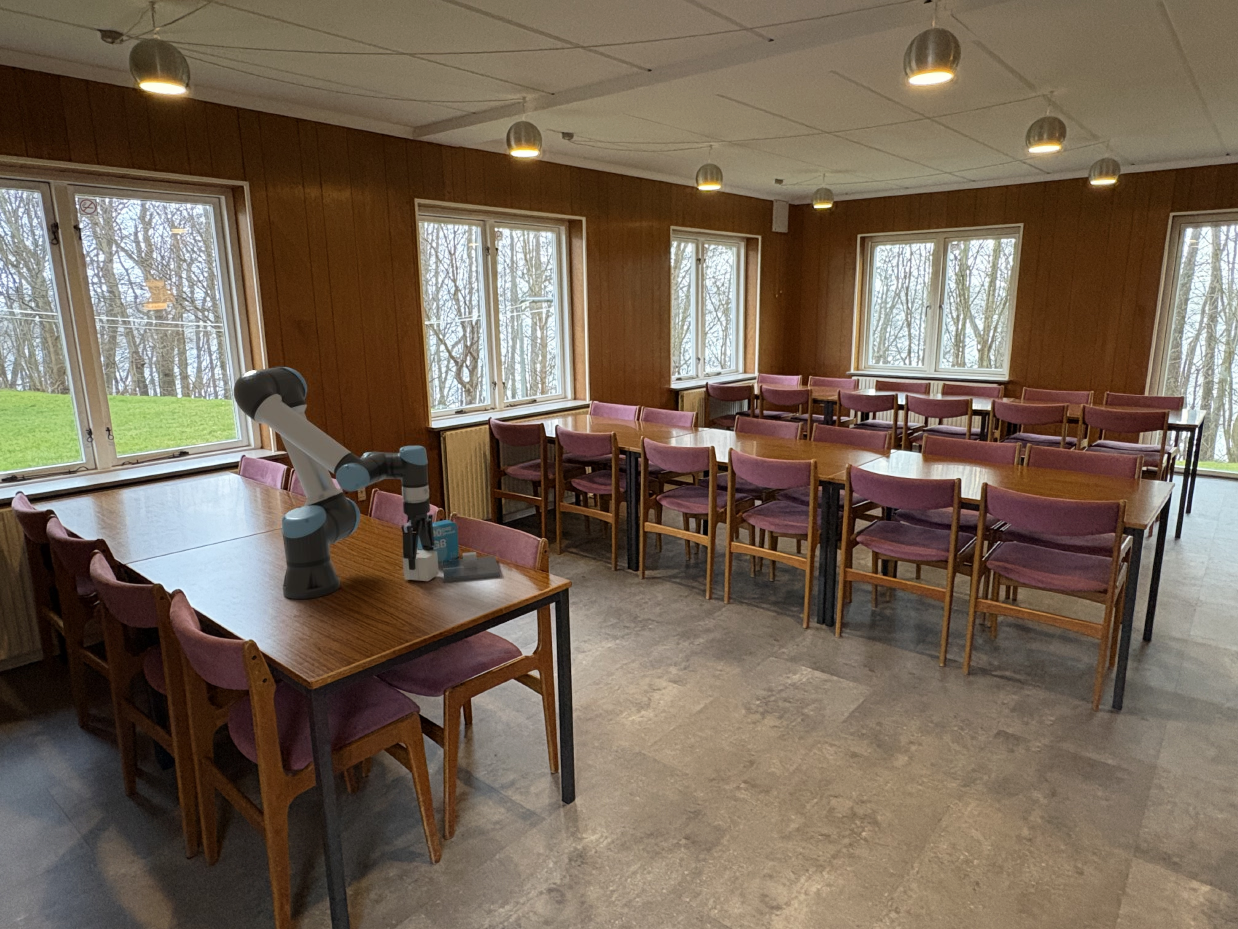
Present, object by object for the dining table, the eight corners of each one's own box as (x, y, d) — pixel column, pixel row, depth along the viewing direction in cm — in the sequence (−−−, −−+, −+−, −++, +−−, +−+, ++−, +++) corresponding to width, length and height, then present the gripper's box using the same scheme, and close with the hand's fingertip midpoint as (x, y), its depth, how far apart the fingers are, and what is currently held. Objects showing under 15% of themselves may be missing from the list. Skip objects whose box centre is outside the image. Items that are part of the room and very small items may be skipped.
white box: (428, 581, 224) (426, 557, 223) (404, 579, 226) (402, 555, 225) (438, 574, 230) (437, 551, 228) (415, 572, 232) (413, 549, 231)
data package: (424, 566, 239) (421, 529, 237) (418, 563, 243) (415, 526, 240) (459, 557, 247) (456, 521, 244) (452, 554, 250) (450, 518, 248)
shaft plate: (499, 576, 228) (498, 559, 227) (443, 583, 224) (442, 564, 223) (495, 560, 243) (493, 543, 242) (442, 565, 239) (440, 548, 238)
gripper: (409, 508, 213) (414, 588, 218) (444, 492, 231) (448, 566, 236) (386, 507, 215) (391, 585, 220) (421, 491, 233) (426, 563, 238)
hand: (420, 575), depth 228 cm, fingers closed on white box, 6 cm apart
